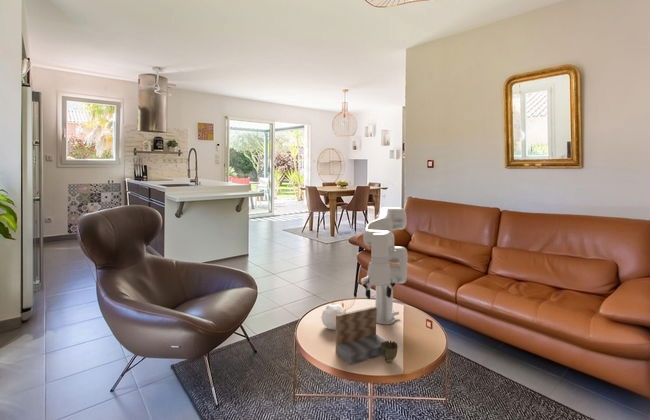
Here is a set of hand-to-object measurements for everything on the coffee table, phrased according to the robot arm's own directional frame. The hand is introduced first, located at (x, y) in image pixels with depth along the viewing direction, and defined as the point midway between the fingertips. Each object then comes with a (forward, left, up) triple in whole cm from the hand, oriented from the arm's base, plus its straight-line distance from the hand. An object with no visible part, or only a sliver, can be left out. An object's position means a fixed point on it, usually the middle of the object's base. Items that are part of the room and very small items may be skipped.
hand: (378, 297), depth 164 cm
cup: (0, +8, -27) cm, 28 cm away
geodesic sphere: (+5, -32, -27) cm, 42 cm away
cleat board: (+6, -3, -27) cm, 27 cm away
